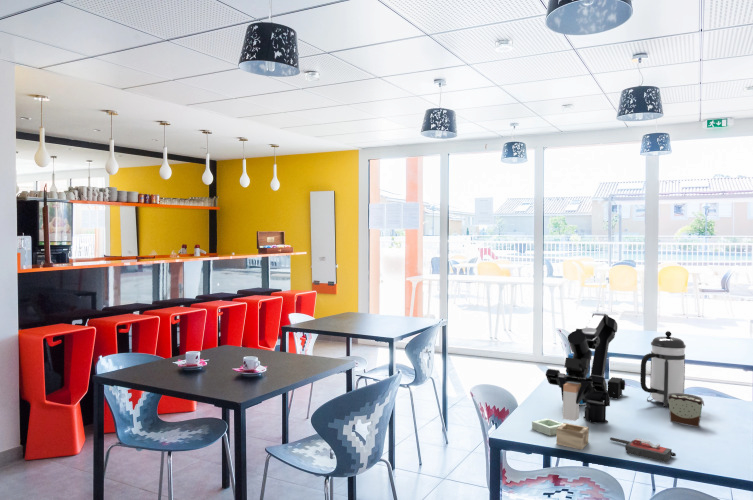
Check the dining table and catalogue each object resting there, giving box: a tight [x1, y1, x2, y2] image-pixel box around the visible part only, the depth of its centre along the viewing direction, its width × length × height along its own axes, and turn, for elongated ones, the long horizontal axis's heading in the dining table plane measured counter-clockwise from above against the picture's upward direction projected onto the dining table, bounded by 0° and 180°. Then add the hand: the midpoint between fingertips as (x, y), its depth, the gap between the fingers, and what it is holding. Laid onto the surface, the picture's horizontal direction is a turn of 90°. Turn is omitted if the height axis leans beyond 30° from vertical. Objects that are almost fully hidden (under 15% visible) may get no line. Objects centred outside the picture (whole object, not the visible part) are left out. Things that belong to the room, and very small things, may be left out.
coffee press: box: [640, 330, 687, 408], centre depth 235 cm, size 17×16×30 cm
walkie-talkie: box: [609, 437, 677, 463], centre depth 178 cm, size 9×4×20 cm
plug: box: [562, 383, 580, 422], centre depth 185 cm, size 4×4×11 cm
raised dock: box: [555, 422, 590, 450], centre depth 184 cm, size 8×8×5 cm
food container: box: [667, 393, 705, 428], centre depth 210 cm, size 12×6×10 cm, turn 47°
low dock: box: [531, 418, 564, 436], centre depth 197 cm, size 8×8×3 cm
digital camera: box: [607, 376, 626, 399], centre depth 247 cm, size 10×5×7 cm, turn 148°
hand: (569, 402), depth 184 cm, fingers closed on plug, 4 cm apart
